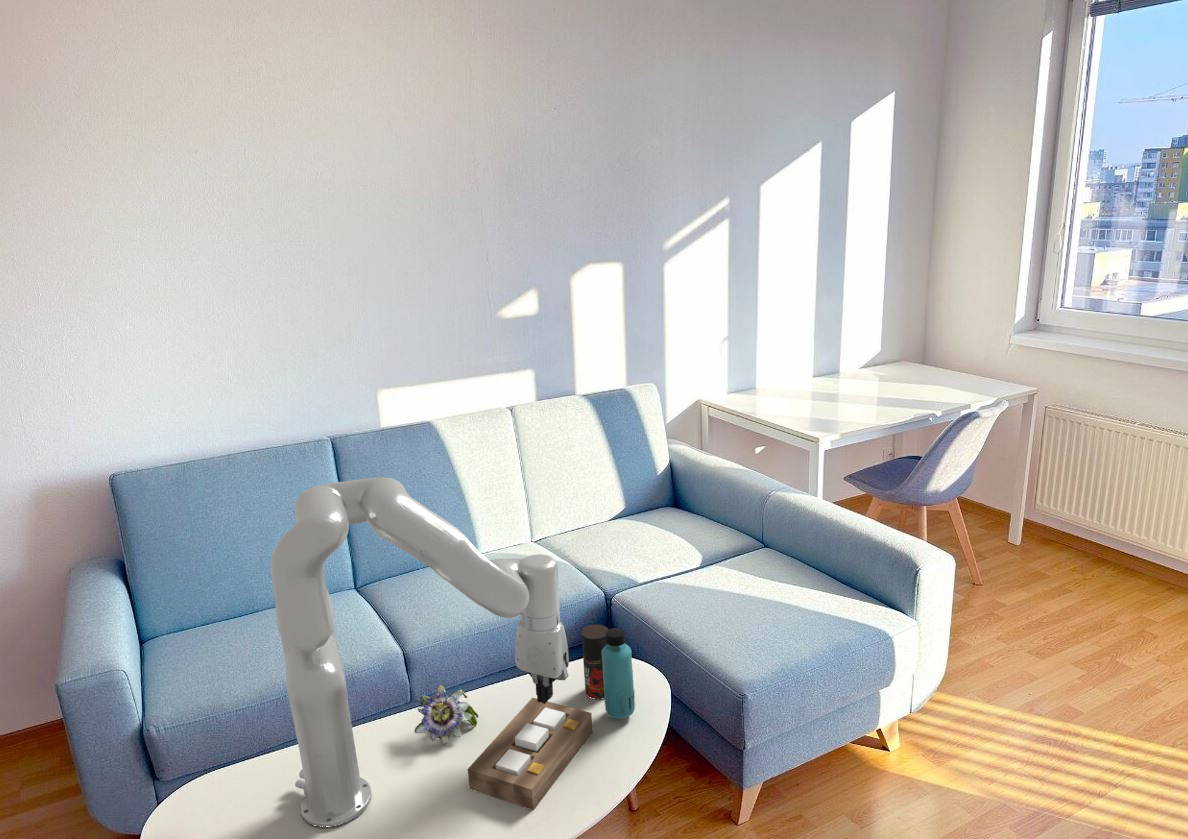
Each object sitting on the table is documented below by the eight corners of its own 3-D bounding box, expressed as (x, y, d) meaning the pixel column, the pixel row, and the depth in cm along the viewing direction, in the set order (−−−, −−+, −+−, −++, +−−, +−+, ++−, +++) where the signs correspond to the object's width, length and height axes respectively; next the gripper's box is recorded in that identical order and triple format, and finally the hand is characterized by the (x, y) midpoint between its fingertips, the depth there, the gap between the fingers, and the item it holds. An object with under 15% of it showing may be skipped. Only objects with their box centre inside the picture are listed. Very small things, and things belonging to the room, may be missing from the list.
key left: (496, 772, 157) (495, 764, 156) (509, 756, 161) (509, 748, 160) (518, 779, 155) (517, 771, 154) (531, 763, 159) (530, 755, 158)
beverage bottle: (633, 726, 173) (629, 641, 167) (601, 724, 174) (596, 639, 168) (637, 707, 179) (634, 624, 173) (607, 705, 180) (602, 622, 175)
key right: (534, 728, 169) (533, 720, 168) (545, 714, 173) (545, 707, 172) (554, 734, 167) (554, 726, 166) (566, 720, 171) (565, 712, 170)
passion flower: (447, 764, 173) (409, 738, 166) (440, 725, 182) (403, 699, 176) (490, 731, 172) (453, 703, 166) (480, 694, 182) (445, 666, 175)
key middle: (515, 745, 163) (514, 737, 162) (528, 730, 167) (527, 723, 166) (536, 751, 160) (536, 743, 160) (548, 736, 164) (548, 728, 164)
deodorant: (617, 688, 186) (613, 628, 182) (603, 702, 181) (599, 641, 177) (594, 680, 189) (590, 622, 185) (580, 694, 184) (576, 634, 180)
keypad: (469, 789, 158) (467, 767, 156) (534, 715, 178) (532, 696, 177) (533, 810, 151) (531, 788, 150) (592, 731, 172) (591, 711, 170)
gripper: (497, 618, 163) (503, 700, 168) (565, 634, 156) (568, 719, 161) (518, 601, 169) (522, 680, 174) (583, 616, 163) (586, 698, 168)
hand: (544, 699), depth 168 cm, fingers closed
